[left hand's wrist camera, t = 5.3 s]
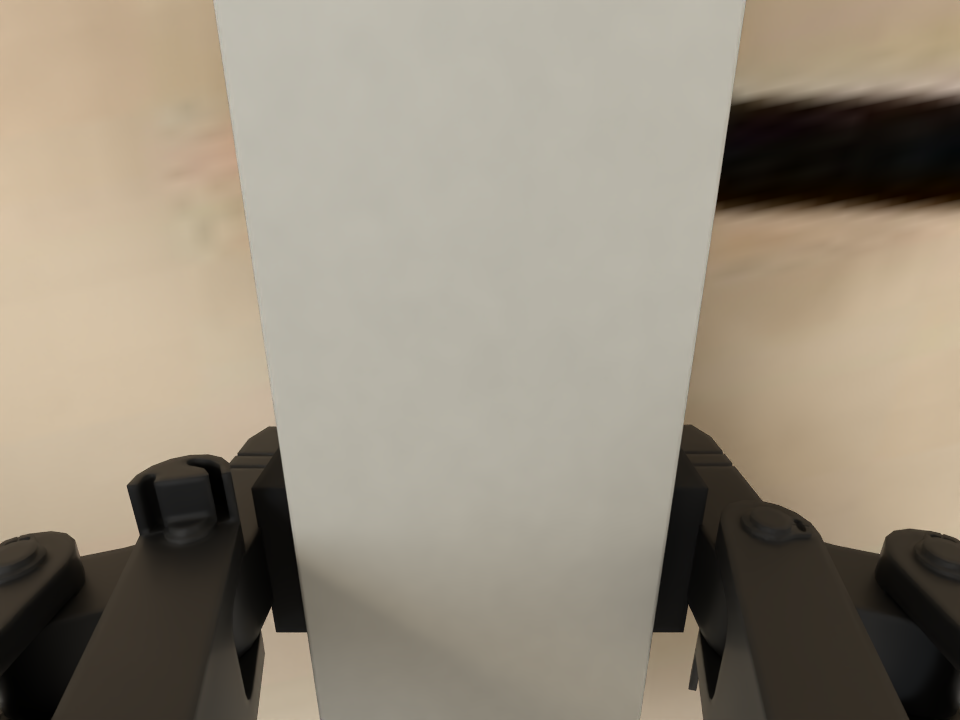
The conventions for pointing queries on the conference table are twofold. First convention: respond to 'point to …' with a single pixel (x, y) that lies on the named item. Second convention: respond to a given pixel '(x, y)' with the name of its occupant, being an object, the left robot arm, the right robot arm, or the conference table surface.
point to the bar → (479, 329)
